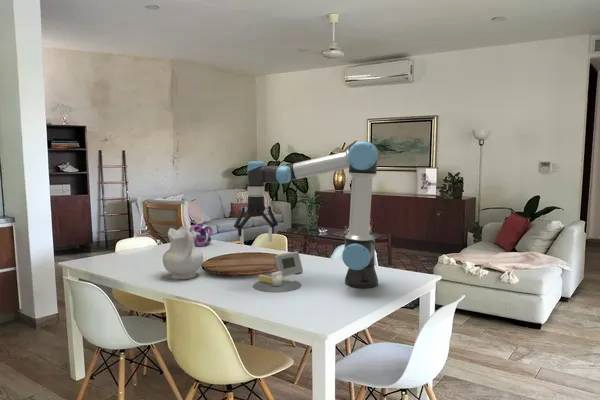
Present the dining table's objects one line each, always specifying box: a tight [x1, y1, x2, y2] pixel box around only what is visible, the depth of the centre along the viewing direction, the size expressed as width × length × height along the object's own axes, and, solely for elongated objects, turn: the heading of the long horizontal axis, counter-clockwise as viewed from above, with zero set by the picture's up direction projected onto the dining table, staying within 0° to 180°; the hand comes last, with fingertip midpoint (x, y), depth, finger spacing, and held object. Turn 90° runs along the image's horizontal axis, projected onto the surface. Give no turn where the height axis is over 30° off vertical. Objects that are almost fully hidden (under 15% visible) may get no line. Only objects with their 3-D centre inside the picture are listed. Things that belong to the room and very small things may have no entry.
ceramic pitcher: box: [162, 225, 204, 280], centre depth 225 cm, size 22×20×25 cm
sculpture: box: [189, 223, 214, 247], centre depth 307 cm, size 16×17×20 cm
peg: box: [258, 271, 283, 286], centre depth 210 cm, size 13×5×6 cm, turn 49°
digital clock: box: [273, 250, 304, 278], centre depth 230 cm, size 16×9×11 cm, turn 123°
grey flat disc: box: [252, 278, 302, 294], centre depth 208 cm, size 22×22×1 cm
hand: (256, 242), depth 210 cm, fingers open, 13 cm apart
